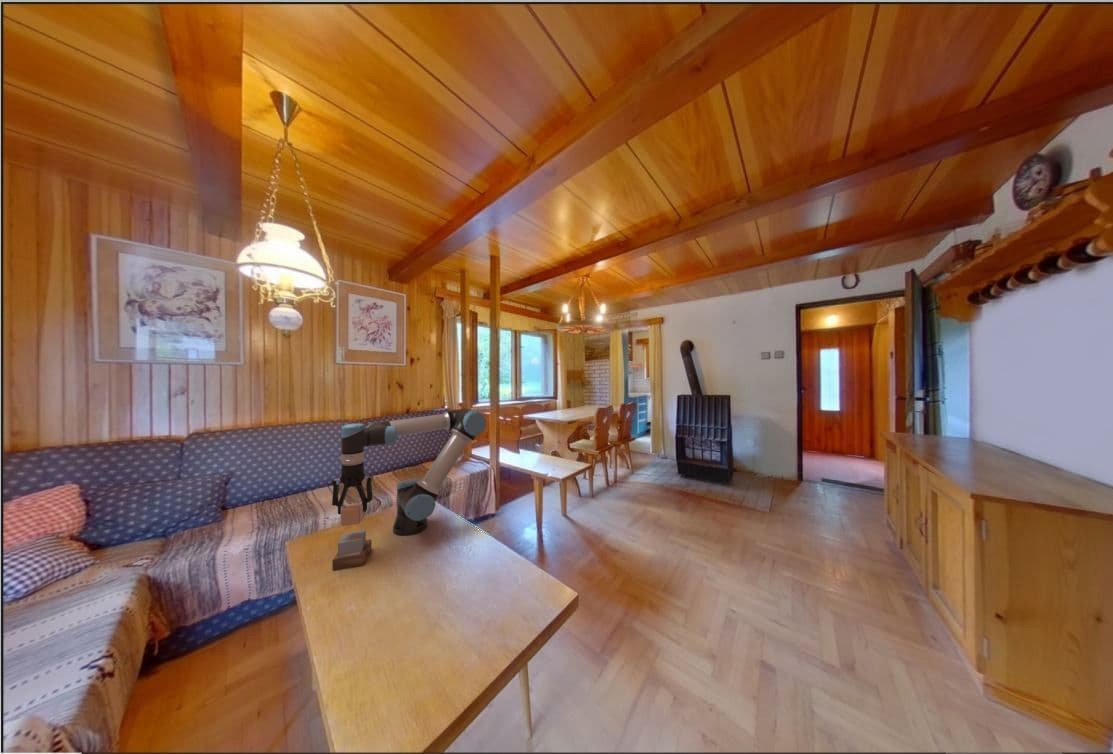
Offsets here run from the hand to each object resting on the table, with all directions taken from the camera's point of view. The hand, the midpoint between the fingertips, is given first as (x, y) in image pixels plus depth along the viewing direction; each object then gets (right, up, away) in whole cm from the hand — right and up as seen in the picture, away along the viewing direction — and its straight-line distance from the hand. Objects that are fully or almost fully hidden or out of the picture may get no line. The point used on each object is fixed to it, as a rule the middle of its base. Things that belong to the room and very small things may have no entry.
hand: (352, 520), depth 123 cm
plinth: (0, -16, 0) cm, 16 cm away
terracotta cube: (0, 0, 0) cm, 0 cm away
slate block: (0, -11, 0) cm, 11 cm away
